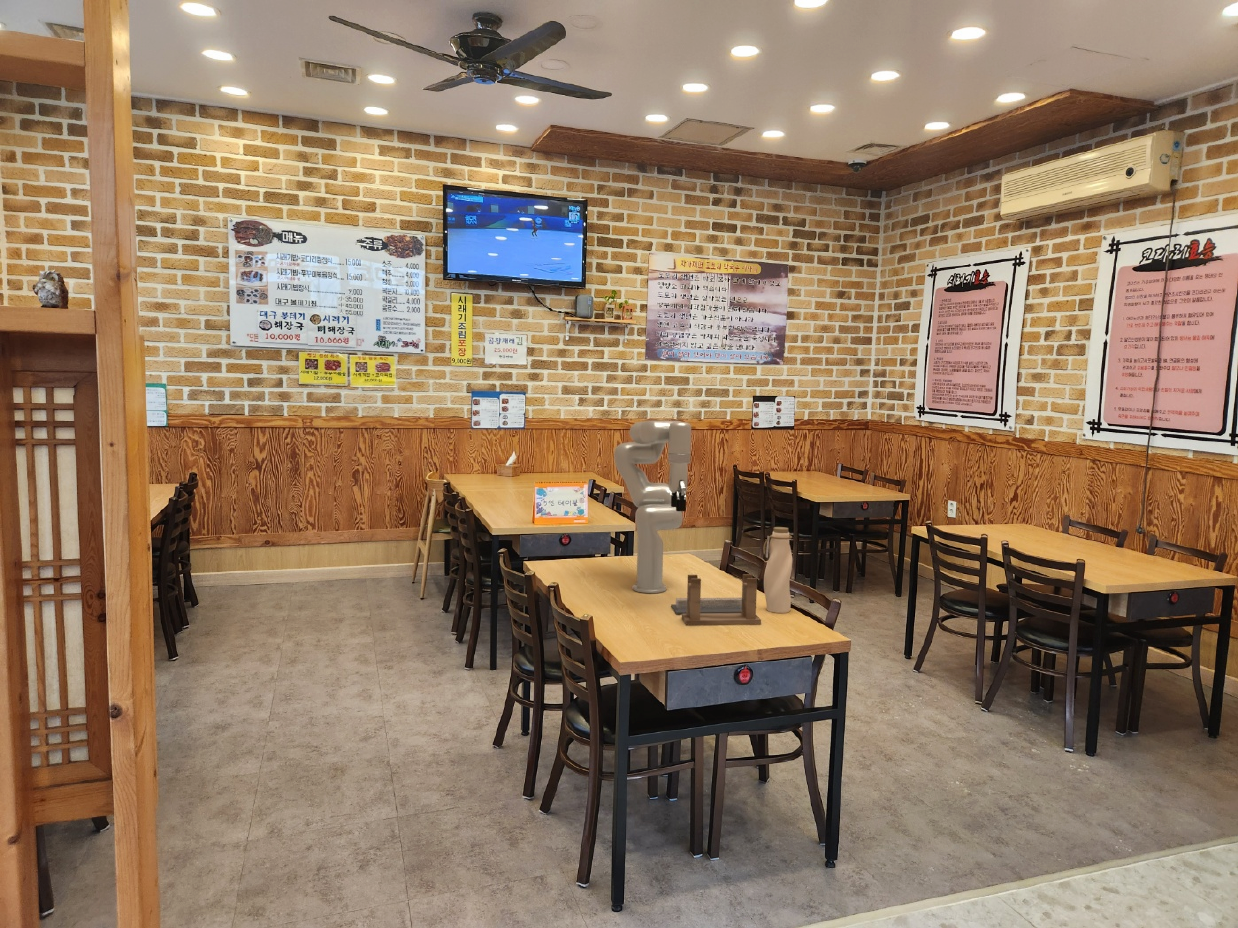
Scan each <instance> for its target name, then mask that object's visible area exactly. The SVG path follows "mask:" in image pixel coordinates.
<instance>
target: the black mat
mask: <svg viewBox="0 0 1238 928" xmlns="http://www.w3.org/2000/svg"><path fill="white" fill-rule="evenodd" d="M670 605H671V606H670V607H671V609H672V610H673V612H674V614H675V615H676V616H680V615H681V616H682V614H687V609H677V608H676V603H675V604H674V603H673V604H670ZM741 611H742V609H700V613H741Z"/></svg>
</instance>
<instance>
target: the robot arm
mask: <svg viewBox="0 0 1238 928" xmlns="http://www.w3.org/2000/svg"><path fill="white" fill-rule="evenodd" d="M629 437H630V439H631V441H628V442H623V443H620V444H617V446H616V447H615V448H614V451H613V459H614V464H615V469H617V472H618V473H619V475H620V477H621V478H622V479H623V481H624V483H625V486H626V488H627V491H628V493H629V496H630V498H631V501H632V503H633V505H634V506H635V507H636V508H637V509H636V511H635V514H634V515H635V517H634V518H635V527H636V532H637V533H636V536H637V540H636V541H637V546H636V547H637V548H636V549H637V550H636V551H637V554H636V555H637V556H636V557H637V558H636V583H634V584H633V585H632V590H633V591H635V592H638V593H643V594H658V593H664V592H666V591H667V585H665V584H663V577H664V570H663V567H664V540H663V539H662V537H661V535H660V534H659V533H658V531H663V530H664V531H665V530H666V531H668V530H676V529H678V528H680V527H681V526H682V524H683V520H684V519H683V518H684V517H683V512H686V509H687V507H686V505H687V497H686V496H687V495H686V493H687V491H688V469H689V468H688V464H689V465H690V464H691V454H692V452H691V451H692V450H691V449H692V448H691V447H692V425H691V424H690V422H685V421H680V420H646V421H645V420H642V421H637V422H634V423H633V424H632V425H631V427H630V428H629ZM667 443H668V448H667V449H668V452H667V453H668V455H667V456H668V458H667V462H668V464H669V474H668V476H669V477H668V483H665V482H650V481H649V479H648V476H647V474H646V472H644V470H643V469H641V468H640V467H639V466H637V465H648V464H649V465H652V464H653V465H654V464H655V463H657V462H658V461H659V459H660V458H661V456H662V453H663V451H664V449H665V447H666V445H667Z"/></svg>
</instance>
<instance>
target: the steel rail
mask: <svg viewBox="0 0 1238 928" xmlns="http://www.w3.org/2000/svg"><path fill="white" fill-rule="evenodd" d="M675 604H676V608H677V609H687V597H682V598H681V597H676V598H675ZM700 609H742V597H700Z"/></svg>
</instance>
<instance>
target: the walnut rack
mask: <svg viewBox="0 0 1238 928" xmlns="http://www.w3.org/2000/svg"><path fill="white" fill-rule="evenodd" d="M741 584H742V585H741V598H742V611H741V613H700V598H702V597H701V596H702V595H701V594H702V593H701V592H702V588H701V587H702V579H701V578H700V577H699V578H698V574H687V593H686V594H687V595H686V598H687V614H682V615H681V620H682V621H683V623H684V624H685V626H731V625H732V626H737V625H738V626H740V625H741V626H742V625H746V626H747V625H752V626H753V625H761V624H762V619H761V618H760V617H759V616H758V615H757V595H758V594H757V592H758V591H757V590H758V578H757V577H753V574H749V573H747V574H745V573H743V574H742V582H741Z"/></svg>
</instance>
